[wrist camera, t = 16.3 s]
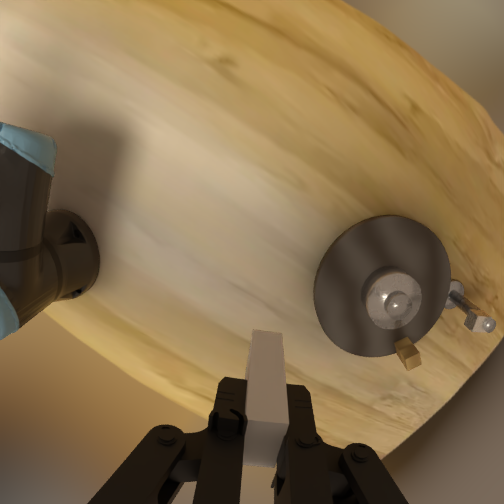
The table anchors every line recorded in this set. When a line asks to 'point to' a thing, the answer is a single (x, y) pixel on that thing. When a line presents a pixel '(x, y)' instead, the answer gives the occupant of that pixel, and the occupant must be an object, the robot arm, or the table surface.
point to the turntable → (361, 266)
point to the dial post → (469, 310)
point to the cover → (391, 297)
